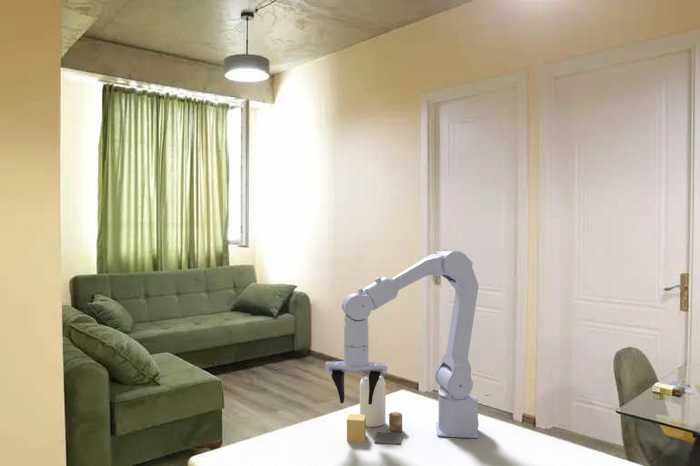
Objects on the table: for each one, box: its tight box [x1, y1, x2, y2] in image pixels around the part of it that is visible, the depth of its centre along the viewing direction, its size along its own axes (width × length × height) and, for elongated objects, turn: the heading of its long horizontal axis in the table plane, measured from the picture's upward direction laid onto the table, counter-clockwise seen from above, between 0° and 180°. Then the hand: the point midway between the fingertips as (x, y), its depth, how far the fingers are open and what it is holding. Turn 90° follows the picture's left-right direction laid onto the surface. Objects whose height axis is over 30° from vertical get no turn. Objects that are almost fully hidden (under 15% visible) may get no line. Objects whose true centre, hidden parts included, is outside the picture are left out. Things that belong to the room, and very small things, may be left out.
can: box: [359, 372, 386, 428], centre depth 135 cm, size 6×6×12 cm
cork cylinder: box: [388, 411, 403, 434], centre depth 130 cm, size 3×3×4 cm
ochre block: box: [346, 413, 367, 443], centre depth 125 cm, size 4×4×5 cm
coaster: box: [374, 431, 402, 445], centre depth 125 cm, size 6×6×1 cm
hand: (356, 402), depth 125 cm, fingers open, 6 cm apart
